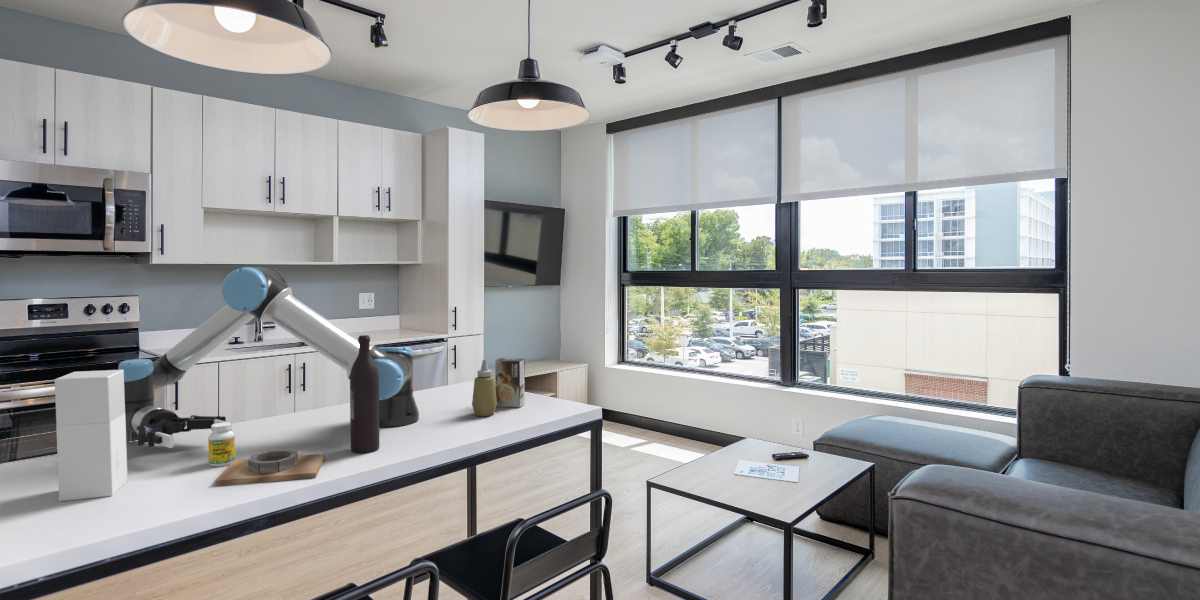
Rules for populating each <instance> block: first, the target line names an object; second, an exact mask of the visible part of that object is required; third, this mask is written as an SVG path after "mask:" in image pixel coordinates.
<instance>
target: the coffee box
mask: <svg viewBox="0 0 1200 600" xmlns="http://www.w3.org/2000/svg"><path fill="white" fill-rule="evenodd" d="M525 360H526V359H525V358H517V357H516V358H513V357H512V358H511V357H499V358H498V359H496V360H495V361H494V362H495V366H494V367H495V368H494V370H495V372H494V373H495V377H494V378H495V388H496V399H497V405H496V407H503V408H505V407H506V408H508V407H509V408H521V407H523V406H524V405H525V404H526V403H525V401H526V399H525V397H526V396H525V394H526V393H525V392H526V391H525V389H526V388H525V386H526V385H525V382H526V381H525V377H526V376H525V374H526V373H525V369H526V368H525Z"/></svg>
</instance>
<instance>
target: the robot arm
mask: <svg viewBox="0 0 1200 600" xmlns="http://www.w3.org/2000/svg"><path fill="white" fill-rule="evenodd" d="M292 290H293V289H292V287H290V286H288V282H287V279H286V277H285V276H284V275H283V274H282V272H281V271H279V270H277V269H276V268H273V267H268V266H256V267H255V266H243V267H241V268H240V267H239V268H236V269H234V270H232V271H230V273H228V274H227V276H226V277H225V278H224V280H223V281H222V286H221V293H222V298H223V300H224V302H225V303H226V304H225V305H224V306H223V307H221V308H220V309H218V311H217V312H215V313H214V314H213V315H211V316H210V317H209V318H208V319H207V320H205V321H204V322H202V324H200V325H199V326H198V327H196V328H195V329H194V330H193V331H192V332H191V333H189V334H187V336H185V337H184V338H183V339H182V340H180V341H179V342H178V343H177V344H176V345H174V346H173V347H171V348H170V349H169V350H167V352H166V353H164V354H162V356H160V357H159V358H158V359H157V360H155V361H152V359H149V358H135V359H126V360H123V361H121V362H119V364H118V369H117V370H124V396H125V419H126V432H130V433H131V432H133V433H136V437H137V443H138V444H137V446H144V445H145V443H147V444H148V445H147V446H148V448H151V447H155V445H159V446H162V447H166V448H170V449H171V448H174V434H179V433H184V432H185V433H187V432H188V433H189V432H190V431H192V430H211V426H212V425H213V424H216V423H223V422H227V418H226V416H223V415H222V416H221V415H218V416H213V415H212V416H211V415H209V416H208V415H207V416H206V415H205V416H204V415H190V416H189V417H180V416H179V415H178V414H176V413H175V411H172V410H170V409H165V408H162V407H158V406H155V390H157V389H160V388H163V387H166V386H169V385H173V384H175V383H177V382H178V381H181V380H182V379H183V378H184V377H185V375H186V373H187V371H189V370H190V369H191V368H193V367H194V366H195V365H196V364H198V363H199V362H201V360H202V359H204V358H206V357H207V355H209V354H211V352H213V350H216V349H217V348H218V347H219V346H220V345H221V344H223V343H224V342H226V340H227V339H230V338H231V336H233V335H234V334H235V333H236V332H238V331H239V330H240V329H241V328H243V327H244V326H246V324H248V323H249V322H251V321H252V320H253V319H254V318H256V319H257V320H259V321H260V322H262V323H266V322H272V323H274V324H275V325H277V326H278V327H280V328H281V329H283V330H285V331H286V332H287V333H289V334H290V335H292V336H293V337H295V338H296V339H298V340H299V341H301V342H302V343H304V344H305V345H307V346H308V347H310V348H312V350H315V351H316V352H317V353H319V354H320V355H322V356H324V357H325V358H327V359H328V360H329V361H331V362H333V363H334V364H336V365H337V366H339V367H340V368H342V369H343V370H344V371H346V378H347V379H348V380H349V381H350V373H351V369H352V366H353V364H354V362H355V360H356V358H357V356H358V354H359V342H358V338H355V337H353V336H352V335H351V334H349V333H348V332H346V331H345V330H343V329H342V328H340V327H339V326H337V325H336V324H334V323H333V322H331V321H330V320H328V319H327V318H326V317H324V316H323V315H322V314H320V313H318V312H317V311H316V310H313V309H312V308H311V307H310V306H308V305H306V304H304V303H303V302H302V301H301V300H299V299H298V298H296V297H295V296H293V291H292ZM369 349H370V354H371V356H372V358H373V360H374V362H375V364H376V366H377V368H378V372H379V427H382V428H383V427H385V428H387V427H388V428H389V427H401V426H407V425H409V424H414V423H417V421H419V419H420V412H419V408H418V406H417V403H416V401H415V396H414V385H413V384H414V368H413V367H414V363H413V362H414V354H413V353H414V351H413V349H412V348H411V347H410V346H386V347H385V346H379V347H378V346H377V345H375V344H369ZM228 422H229V421H228ZM229 423H231V422H229ZM230 431H232V427H231V429H230ZM232 432H233V431H232Z"/></svg>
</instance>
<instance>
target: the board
mask: <svg viewBox="0 0 1200 600" xmlns="http://www.w3.org/2000/svg"><path fill="white" fill-rule="evenodd" d="M298 453H299V452H298V451H297V450H291V449H286V448H284V449H271V450H270V449H269V450H265V451H262V452H259V453H255V454H252V455H251V456H250V457H249V458H244V459H243V458H242V459H235V460H233V462H232V463H231V464H229V465H227V467H226V468H225V469H223V472H221V473H220V474H219V476H218V477H217V478H216V479H215V480H214V486H215V487H218V486H219V487H221V486H231V485H244V484H257V483H267V482H269V483H270V482H278V481H279V482H280V481H292V480H293V481H294V480H295V481H296V480H303V479H305V478H306V479H316V478H317V477H318V474H319V472H320V469H321V468H322V465H323V463H324V461H325V459H326V454H325V453H316V454H315V453H313V454H300V455H298Z"/></svg>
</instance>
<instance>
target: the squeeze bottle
mask: <svg viewBox="0 0 1200 600" xmlns="http://www.w3.org/2000/svg"><path fill="white" fill-rule="evenodd" d="M480 367H481V368H480V369H479V370H478V369H477V376H476V377H475V378H474V380H473V381H474V382H473V391H472V392H473V393H472V401H471V406H472V409H473V412H474V415H475V416H478V417H490V416H492V415H494V414H495V412H496V408H497V406H496V405H497V399H496V388H495V377H493V372H492V371H493V370H491V369H489V365H488V361H487V359H485V358H484V359H482V362H481V366H480Z"/></svg>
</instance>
